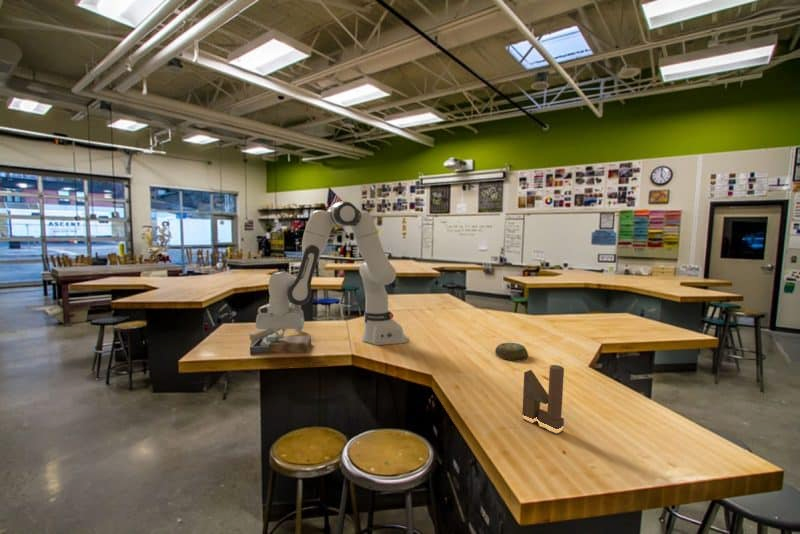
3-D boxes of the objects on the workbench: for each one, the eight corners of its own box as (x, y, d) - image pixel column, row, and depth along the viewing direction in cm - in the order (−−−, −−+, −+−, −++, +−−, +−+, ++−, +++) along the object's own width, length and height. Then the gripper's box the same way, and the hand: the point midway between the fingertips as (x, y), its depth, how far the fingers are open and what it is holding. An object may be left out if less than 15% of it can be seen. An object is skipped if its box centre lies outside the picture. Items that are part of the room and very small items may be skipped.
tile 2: (277, 338, 170) (277, 334, 170) (275, 341, 166) (275, 337, 166) (268, 339, 170) (268, 334, 170) (266, 341, 166) (266, 337, 166)
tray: (276, 344, 175) (276, 338, 175) (269, 353, 162) (268, 346, 162) (259, 344, 174) (258, 338, 174) (250, 353, 162) (249, 347, 161)
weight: (489, 353, 167) (489, 342, 166) (514, 350, 171) (514, 339, 171) (507, 363, 154) (507, 351, 154) (534, 360, 159) (534, 348, 158)
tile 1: (264, 338, 170) (262, 341, 170) (262, 340, 166) (259, 344, 166) (271, 343, 170) (269, 346, 170) (269, 346, 166) (266, 349, 167)
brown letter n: (528, 415, 111) (531, 356, 109) (563, 431, 102) (567, 367, 100) (521, 419, 108) (524, 359, 106) (556, 435, 100) (560, 370, 98)
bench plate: (311, 344, 176) (311, 335, 176) (306, 353, 164) (306, 344, 163) (276, 344, 175) (276, 336, 175) (269, 353, 162) (268, 344, 162)
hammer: (251, 325, 173) (301, 301, 195) (245, 323, 175) (295, 300, 198) (259, 355, 177) (307, 328, 200) (253, 353, 180) (301, 326, 203)
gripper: (304, 306, 171) (304, 335, 172) (258, 306, 169) (259, 336, 171) (301, 309, 165) (302, 339, 166) (254, 309, 163) (254, 340, 164)
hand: (280, 338), depth 168 cm, fingers closed
